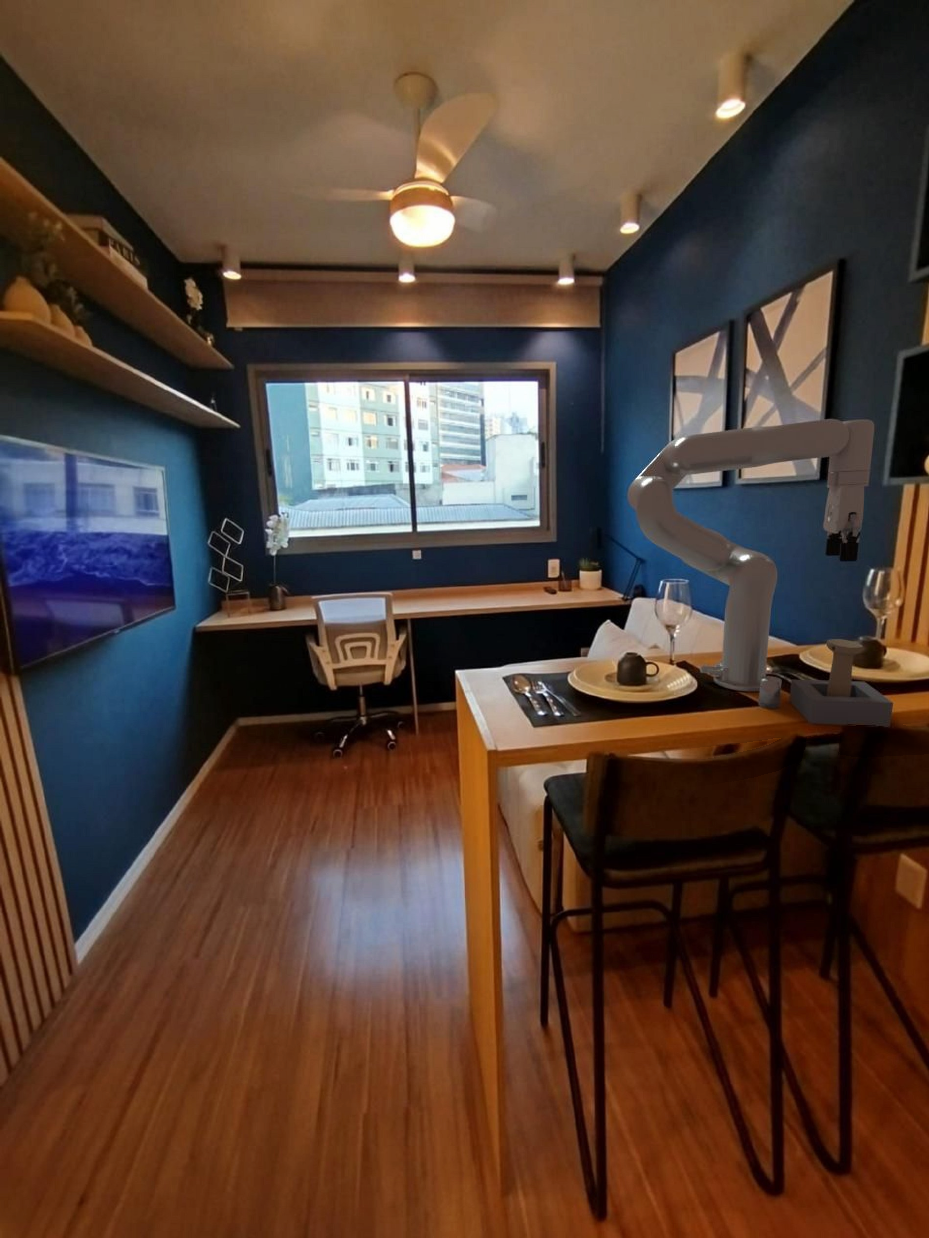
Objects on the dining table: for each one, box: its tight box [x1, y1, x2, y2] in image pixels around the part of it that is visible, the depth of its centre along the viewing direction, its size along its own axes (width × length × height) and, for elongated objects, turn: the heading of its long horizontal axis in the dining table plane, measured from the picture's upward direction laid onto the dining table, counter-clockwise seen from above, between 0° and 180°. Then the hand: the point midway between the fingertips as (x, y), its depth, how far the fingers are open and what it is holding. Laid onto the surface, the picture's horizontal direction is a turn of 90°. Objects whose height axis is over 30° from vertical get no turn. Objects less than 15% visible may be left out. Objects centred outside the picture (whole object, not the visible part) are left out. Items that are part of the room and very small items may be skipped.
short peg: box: [757, 675, 782, 710], centre depth 121 cm, size 4×4×6 cm
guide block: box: [789, 679, 894, 728], centre depth 116 cm, size 14×12×5 cm
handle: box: [826, 638, 864, 697], centre depth 115 cm, size 5×6×15 cm
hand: (840, 558), depth 127 cm, fingers open, 9 cm apart
